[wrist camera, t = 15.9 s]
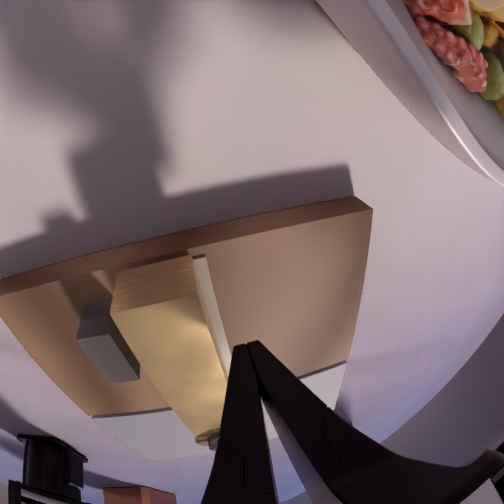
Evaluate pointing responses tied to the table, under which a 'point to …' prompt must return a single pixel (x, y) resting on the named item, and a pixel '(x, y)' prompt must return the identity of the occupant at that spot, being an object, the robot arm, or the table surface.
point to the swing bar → (174, 341)
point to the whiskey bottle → (137, 496)
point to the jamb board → (179, 436)
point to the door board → (215, 295)
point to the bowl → (438, 67)
